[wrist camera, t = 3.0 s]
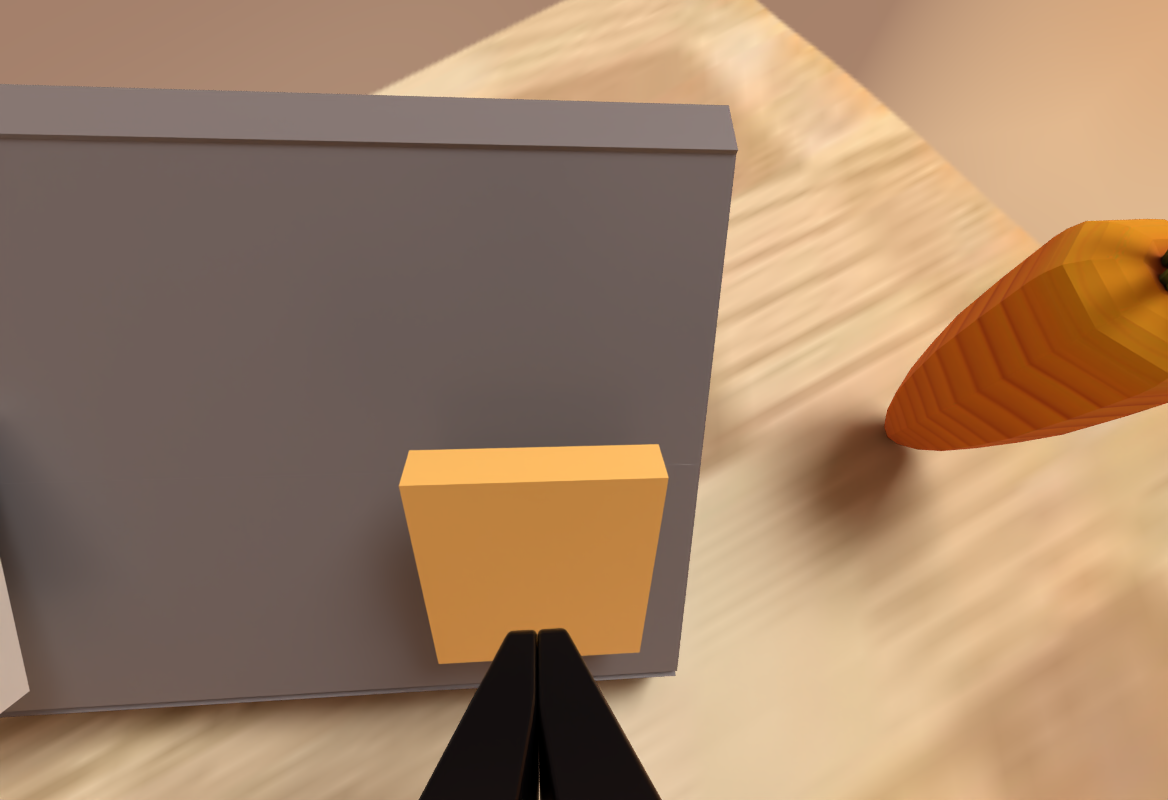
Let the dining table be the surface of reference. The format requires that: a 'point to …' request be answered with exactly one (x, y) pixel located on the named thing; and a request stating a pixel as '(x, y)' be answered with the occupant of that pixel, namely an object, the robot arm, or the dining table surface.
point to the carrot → (1047, 345)
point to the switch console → (323, 366)
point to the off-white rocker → (9, 653)
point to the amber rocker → (535, 543)
